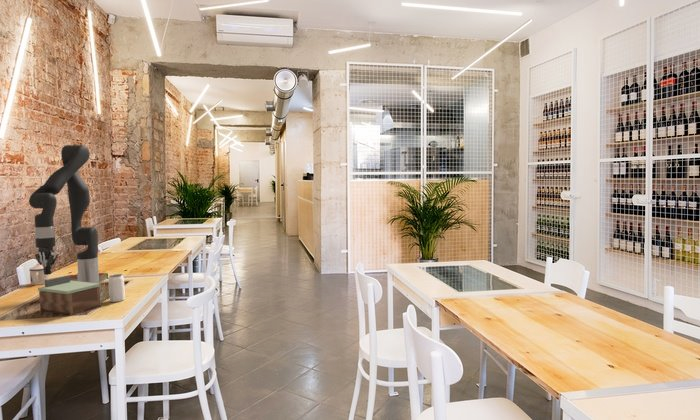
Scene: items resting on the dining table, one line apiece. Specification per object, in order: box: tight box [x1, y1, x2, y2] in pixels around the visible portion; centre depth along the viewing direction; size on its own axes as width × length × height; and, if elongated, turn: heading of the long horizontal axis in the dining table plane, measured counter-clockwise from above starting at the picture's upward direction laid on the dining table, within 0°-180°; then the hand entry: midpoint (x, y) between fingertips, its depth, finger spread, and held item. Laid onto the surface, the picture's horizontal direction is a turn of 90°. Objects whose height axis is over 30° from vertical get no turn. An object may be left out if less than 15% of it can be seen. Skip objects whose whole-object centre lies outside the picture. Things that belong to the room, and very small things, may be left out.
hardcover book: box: [66, 272, 109, 284], centre depth 254 cm, size 12×21×4 cm, turn 102°
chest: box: [38, 286, 101, 316], centre depth 198 cm, size 20×14×9 cm
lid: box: [37, 275, 101, 294], centre depth 197 cm, size 20×15×4 cm
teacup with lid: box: [29, 262, 50, 286], centre depth 250 cm, size 12×9×12 cm
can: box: [108, 273, 126, 303], centre depth 210 cm, size 6×6×12 cm
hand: (47, 274), depth 203 cm, fingers closed
